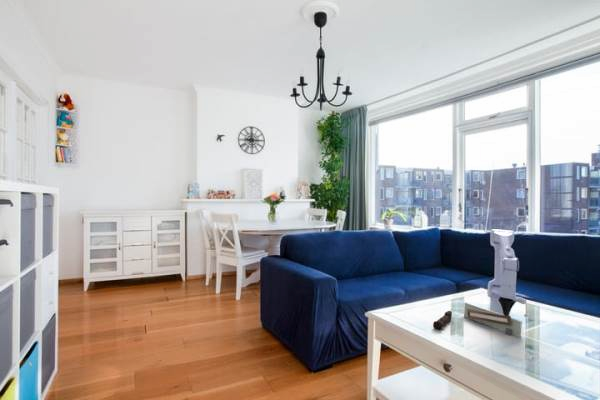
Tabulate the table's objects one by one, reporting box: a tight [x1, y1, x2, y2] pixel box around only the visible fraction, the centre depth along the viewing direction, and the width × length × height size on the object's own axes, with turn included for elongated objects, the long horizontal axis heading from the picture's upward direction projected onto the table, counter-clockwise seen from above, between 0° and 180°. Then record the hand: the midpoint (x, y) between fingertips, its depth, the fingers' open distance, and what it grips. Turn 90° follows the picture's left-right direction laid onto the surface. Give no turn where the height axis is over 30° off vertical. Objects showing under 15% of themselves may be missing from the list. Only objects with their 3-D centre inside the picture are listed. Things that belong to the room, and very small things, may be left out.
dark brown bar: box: [432, 310, 453, 331], centre depth 155 cm, size 19×4×5 cm, turn 136°
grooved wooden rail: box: [467, 309, 512, 326], centre depth 155 cm, size 1×20×4 cm, turn 30°
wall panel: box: [463, 301, 523, 338], centre depth 155 cm, size 4×26×7 cm, turn 30°
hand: (506, 315), depth 148 cm, fingers closed
